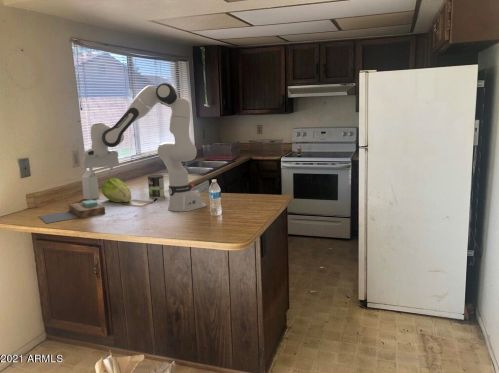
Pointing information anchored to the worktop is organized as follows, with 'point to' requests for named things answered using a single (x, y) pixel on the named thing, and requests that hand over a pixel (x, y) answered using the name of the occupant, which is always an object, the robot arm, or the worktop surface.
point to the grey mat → (57, 217)
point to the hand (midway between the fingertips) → (101, 174)
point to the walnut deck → (86, 210)
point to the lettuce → (116, 190)
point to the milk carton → (90, 186)
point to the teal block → (89, 203)
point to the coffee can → (156, 186)
